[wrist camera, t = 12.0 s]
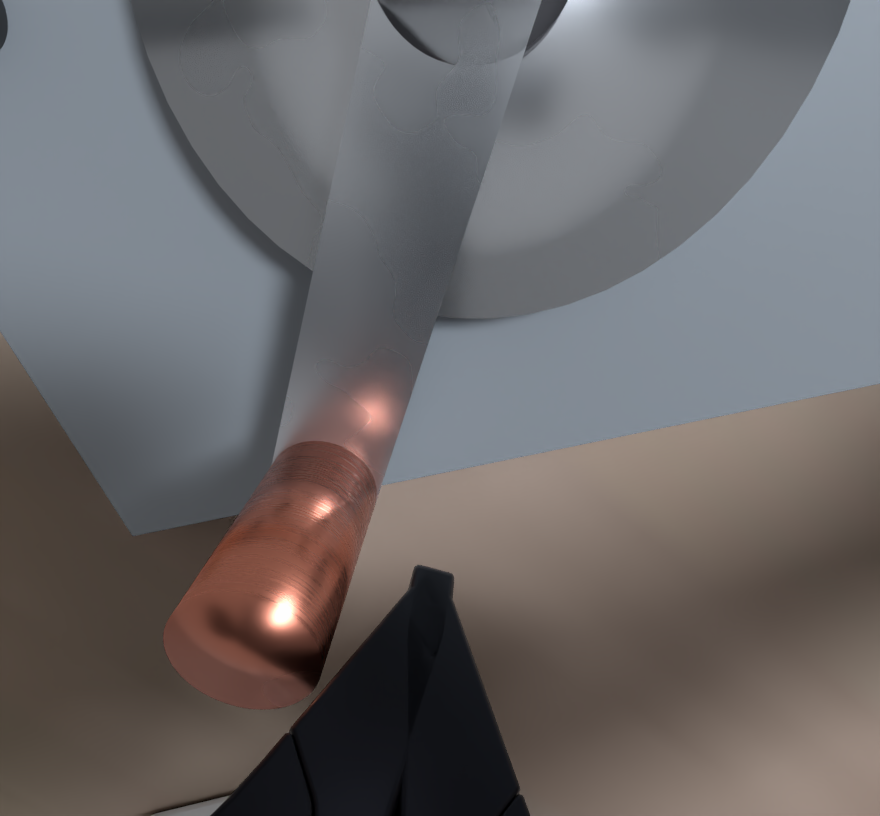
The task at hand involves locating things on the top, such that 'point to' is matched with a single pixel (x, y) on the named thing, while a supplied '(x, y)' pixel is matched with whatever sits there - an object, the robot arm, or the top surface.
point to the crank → (439, 226)
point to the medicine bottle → (195, 809)
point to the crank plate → (453, 339)
